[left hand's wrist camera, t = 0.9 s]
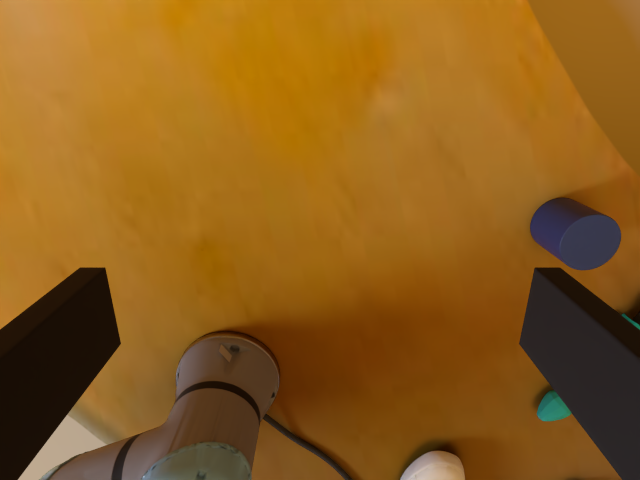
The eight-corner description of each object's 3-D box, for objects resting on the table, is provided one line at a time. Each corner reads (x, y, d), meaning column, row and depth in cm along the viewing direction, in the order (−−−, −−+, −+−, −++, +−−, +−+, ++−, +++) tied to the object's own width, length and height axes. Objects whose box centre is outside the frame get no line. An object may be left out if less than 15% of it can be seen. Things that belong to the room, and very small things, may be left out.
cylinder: (521, 216, 54) (550, 235, 47) (571, 187, 53) (608, 202, 46) (542, 256, 56) (573, 280, 49) (591, 229, 55) (630, 250, 48)
